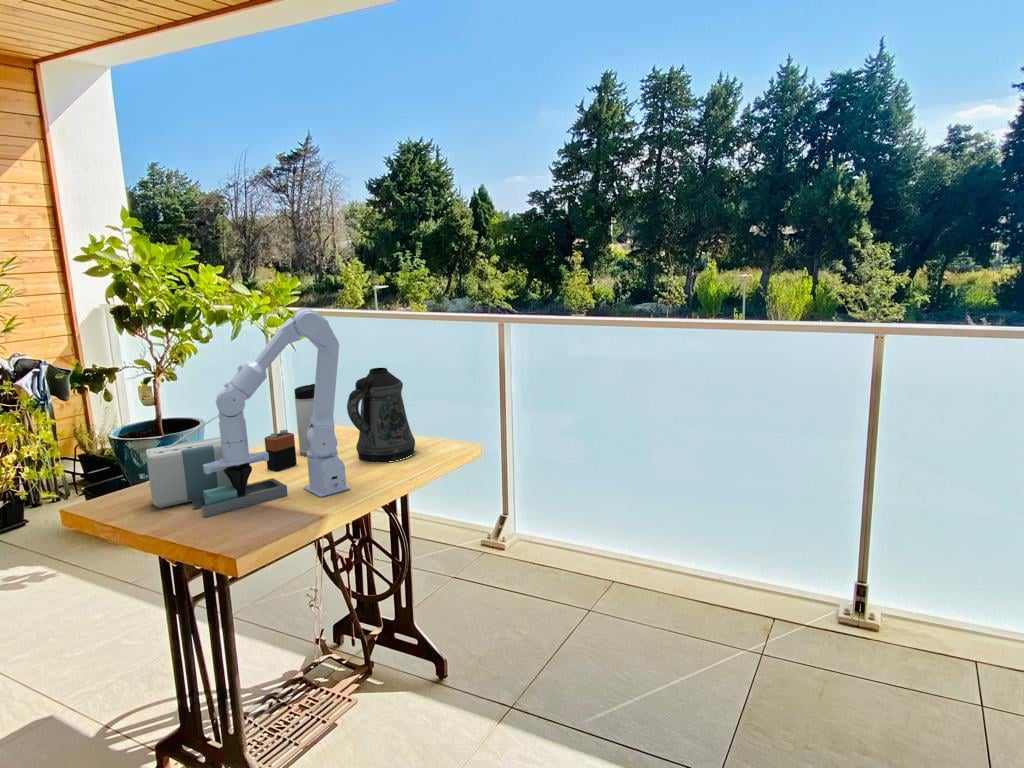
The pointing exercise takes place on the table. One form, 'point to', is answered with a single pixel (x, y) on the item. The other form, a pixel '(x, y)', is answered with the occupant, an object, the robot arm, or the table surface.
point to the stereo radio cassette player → (184, 470)
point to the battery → (280, 450)
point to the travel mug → (304, 413)
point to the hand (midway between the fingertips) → (240, 496)
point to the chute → (243, 497)
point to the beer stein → (380, 418)
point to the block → (219, 494)
